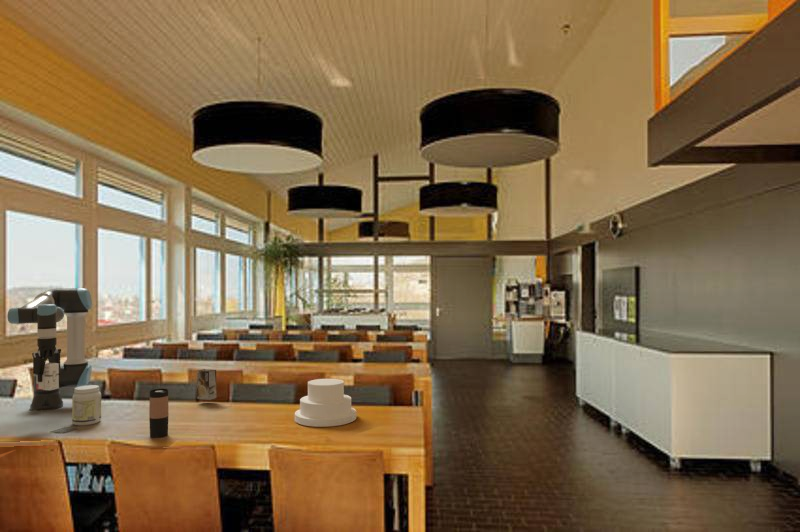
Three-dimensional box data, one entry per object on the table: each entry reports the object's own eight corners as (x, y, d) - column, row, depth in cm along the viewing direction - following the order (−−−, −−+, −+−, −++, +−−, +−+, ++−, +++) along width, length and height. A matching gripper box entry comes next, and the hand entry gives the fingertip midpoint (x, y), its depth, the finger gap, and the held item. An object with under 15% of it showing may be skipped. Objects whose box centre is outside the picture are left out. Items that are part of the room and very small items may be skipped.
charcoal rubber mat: (65, 427, 252) (65, 426, 252) (77, 428, 250) (77, 427, 251) (50, 432, 245) (50, 431, 245) (62, 433, 243) (62, 432, 243)
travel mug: (153, 433, 242) (153, 388, 242) (170, 433, 242) (170, 388, 243) (146, 439, 234) (146, 392, 234) (165, 438, 235) (165, 392, 235)
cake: (326, 430, 246) (325, 391, 246) (281, 420, 264) (281, 383, 264) (369, 416, 270) (368, 380, 270) (325, 407, 288) (325, 373, 288)
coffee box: (217, 397, 312) (217, 369, 312) (209, 400, 306) (209, 371, 306) (204, 396, 316) (204, 368, 316) (196, 398, 310) (196, 370, 310)
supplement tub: (84, 418, 268) (84, 384, 268) (107, 419, 266) (107, 384, 267) (65, 425, 256) (65, 389, 256) (89, 426, 254) (89, 390, 255)
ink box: (35, 389, 253) (35, 364, 253) (45, 387, 258) (44, 362, 258) (50, 390, 251) (49, 365, 251) (59, 388, 255) (59, 363, 255)
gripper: (57, 334, 264) (57, 383, 264) (22, 339, 247) (22, 391, 247) (69, 335, 262) (69, 383, 262) (36, 340, 245) (36, 392, 245)
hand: (47, 387), depth 254 cm, fingers closed on ink box, 5 cm apart
